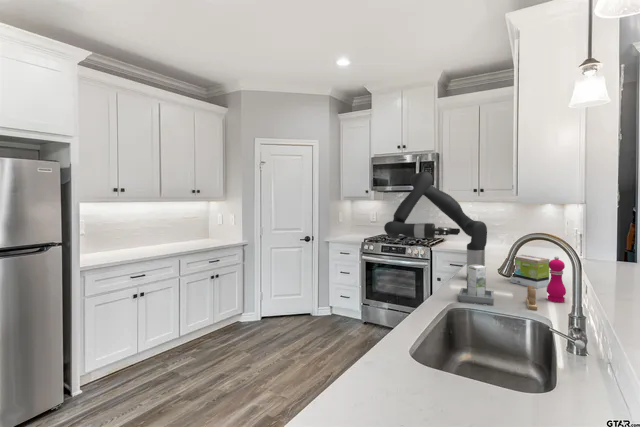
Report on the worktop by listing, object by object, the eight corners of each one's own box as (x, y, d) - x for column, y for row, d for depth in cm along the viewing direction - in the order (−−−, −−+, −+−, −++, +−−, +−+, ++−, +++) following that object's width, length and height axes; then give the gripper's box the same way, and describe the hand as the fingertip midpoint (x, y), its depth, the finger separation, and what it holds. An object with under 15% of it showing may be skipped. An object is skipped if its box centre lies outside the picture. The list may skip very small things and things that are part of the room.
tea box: (509, 282, 190) (510, 255, 189) (522, 280, 194) (522, 254, 193) (537, 289, 176) (537, 259, 176) (549, 286, 180) (550, 258, 180)
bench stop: (525, 300, 157) (526, 283, 157) (533, 301, 156) (533, 284, 156) (528, 309, 145) (528, 291, 144) (537, 310, 143) (537, 292, 143)
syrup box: (476, 294, 164) (476, 264, 163) (486, 298, 158) (486, 266, 157) (466, 296, 162) (466, 264, 161) (476, 299, 156) (476, 267, 155)
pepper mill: (559, 298, 160) (560, 254, 159) (569, 303, 153) (570, 257, 152) (543, 298, 160) (543, 254, 160) (551, 302, 153) (552, 257, 152)
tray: (461, 293, 169) (461, 287, 169) (493, 297, 163) (493, 290, 163) (458, 301, 157) (458, 295, 157) (493, 305, 150) (493, 298, 150)
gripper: (422, 224, 170) (457, 225, 163) (426, 222, 183) (460, 222, 175) (422, 239, 170) (457, 241, 163) (426, 236, 183) (460, 237, 176)
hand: (459, 231), depth 169 cm, fingers open, 8 cm apart
